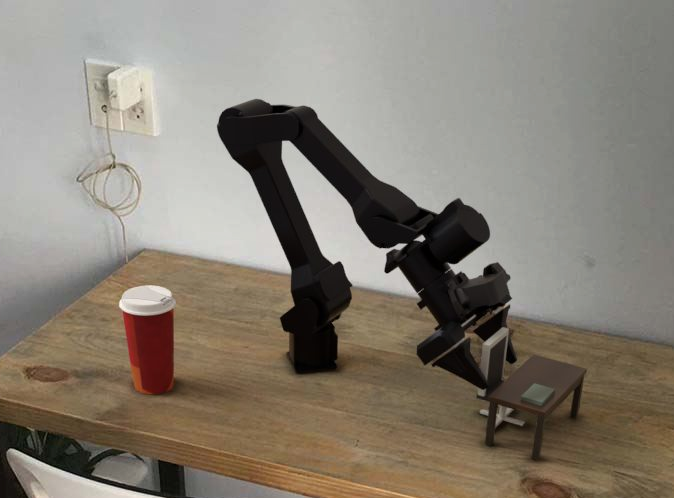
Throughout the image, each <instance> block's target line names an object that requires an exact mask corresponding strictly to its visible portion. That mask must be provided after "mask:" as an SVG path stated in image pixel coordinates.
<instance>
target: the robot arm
mask: <svg viewBox="0 0 674 498" xmlns="http://www.w3.org/2000/svg"><path fill="white" fill-rule="evenodd" d="M216 131H217V134H218V137H219V139H220V141H221V142H222V144H223V146H224V147H225V149H226V150H227V152H228V154H229V156H230V158H231V159H232V160H233V161H234V162H235V163H237V164H238V165H239V166H240V167H241V168H242V169H244V170H245V171H246V172H247V173H248V174H249V176H250V177H251V180H252V182H253V185H254V187H255V190H256V191H257V194H258V196H259V198H260V200H261V204H262V205H263V208H264V210H265V212H266V214H267V217H268V219H269V221H270V223H271V226H272V228H273V230H274V233H275V235H276V237H277V240H278V241H279V242H278V243H279V244H280V247H281V249H282V252H283V253H284V256H285V258H286V260H287V262H288V265H289V267H290V294H291V295H290V296H291V297H292V301H293V305H294V306H292V307H291V308H289V309H288V310H287V311H286V312H285V313H284V314H282V315H281V316H279V320H280V324H281V327H282V330H283V332H286V333H288V351H286V353H285V356H286V358H287V360H288V361H289V363H290V365H291V368H292V369H293V372H294V373H296V374H302V373H303V374H304V373H313V372H314V373H315V372H321V371H323V372H324V371H331V370H332V371H333V370H337V369H338V364H337V362H336V361H337V360H338V357H339V356H338V355H339V354H338V353H339V349H338V346H339V335H338V334H337V332H336V329H335V328H336V326H335V325H334V323H335V321H338V320H340V318H341V316H342V315H343V313H344V312H345V311H347V310H348V308H349V307H350V305H351V301H352V299H353V293H352V290H351V288H353V283H352V282H351V281H350V280H349V278H348V277H347V274H346V270H345V267H344V264H343V263H342V261H340V260H338V261H336V262H335V263H332V262H331V260H329V259H328V258H327V257H325V256H324V254H323V253H322V251H321V249H320V246H319V243H318V241H317V238H316V237H315V235H314V232H313V230H312V227H311V225H310V223H309V220H308V218H307V215H306V213H305V211H304V209H303V206H302V203H301V202H300V199H299V196H298V194H297V192H296V190H295V187H294V185H293V182H292V180H291V178H290V176H289V174H288V171H287V168H286V166H285V164H284V161H283V142H289V143H291V144H292V145H293V147H294V148H296V149H297V150H298V151H299V153H300V154H301V155H302V156H303V157H304V158H305V159H306V160H307V161H308V162H309V163H310V164H311V165H312V166H313V167H314V168H315V170H317V171H318V172H319V173H320V174H321V175H322V176H323V177H324V179H326V180H327V182H328V183H329V184H330V185H331V186H332V187H333V188H334V190H336V191H337V192H338V194H340V195H341V197H342V198H343V199H345V201H346V202H347V204H348V205H349V206H350V207H351V211H352V213H353V216H354V220H355V223H356V224H357V226H358V227H359V228H360V230H361V232H362V233H363V234H364V235H365V237H366V239H367V240H368V241H369V242H370V244H372V245H373V246H374V247H376V248H378V249H380V250H381V249H386V250H387V249H391V248H392V249H391V250H389V251H388V252H386V254H385V257H386V258H385V259H386V260H385V264H384V269H383V270H384V273H385V274H386V275H387V274H390V273H391V272H393V271H394V270H396V269H399V270H400V271H401V273H402V275H403V276H404V277H405V279H406V280H407V281H408V284H410V286H411V287H412V289H413V290H414V292H415V293H416V294H417V296H418V297H419V299H420V300H419V301H418V302H417V303H416V305H417V306H418V308H419V310H422V309H424V308H426V309H427V310H428V311H429V313H430V314H431V316H432V317H433V318H434V320H435V321H436V322H437V324H438V325H436V326H435V327H434V328H433V329H434V331H435V332H433V333H432V334H430V335H429V336H428V337H426V338H425V339H424V340H422V341H421V342H419V343H418V344H417V345H416V353H415V354H416V356H417V358H418V359H419V360H420V362H421V363H422V364H423V366H427V365H429V364H430V363H431V362H432V363H431V364H430V365H431V367H432V368H435V367H438V368H440V369H441V370H444V371H446V372H449V374H452V375H454V376H456V377H458V378H460V379H462V380H464V381H466V382H467V383H468V384H471V385H472V386H475V387H476V388H477V389H478V388H480V389H482V390H485V389H486V388H488V387H489V384H488V382H487V380H486V378H485V376H484V374H483V373H482V371H481V369H480V366H479V364H478V362H477V360H476V359H475V358H474V357H475V356H473V354H472V352H471V340H472V339H471V336H469V337H468V338H466V334H465V333H466V332H465V331H467V330H468V329H470V328H472V326H473V327H474V326H476V325H477V327H475V328H473V330H472V332H473V333H474V334H475V335H476V336H478V337H479V338H480V339H481V340H482V341H483V343H484V342H486V341H487V340H488V339H489V338H490V337H491V336H493V335H494V334H495V333H496V332H497V331H499V330H500V329H501V328H502V327H504V328H508V324H507V318H508V314H509V311H510V309H511V304H508V303H509V302H510V301H511V300H513V297H512V296H511V295H510V294H511V293H510V288H509V286H508V282H509V281H510V280H511V278H512V277H511V275H510V274H509V273H507V271H506V269H505V268H503V266H502V265H501V264H500V262H498V261H496V262H493V263H488V265H486V266H484V267H483V270H482V274H480V275H478V276H476V277H473V278H469V277H468V276H467V274H466V273H465V272H462V271H459V272H457V273H455V271H454V270H453V268H452V267H451V266H450V265H458V264H459V263H460V262H462V261H463V260H464V259H466V258H467V257H468V256H469V255H471V254H472V253H474V252H475V251H476V250H478V249H479V248H480V247H482V246H483V245H485V244H486V243H487V242H488V241H489V239H490V237H491V229H490V226H489V224H488V221H487V219H486V218H485V216H484V215H483V214H482V213H481V212H479V211H478V210H477V209H475V207H472V206H471V205H468V204H465V203H464V202H463V201H462V199H461V198H460V197H457V198H455V199H453V200H452V201H450V202H449V203H448V204H447V205H446V206H445V207H444V208H443V210H442V211H440V213H437V212H435V211H432V210H429V209H427V208H424V207H422V206H419V205H418V204H417V203H416V202H415V201H414V200H413V199H412V198H411V197H409V196H408V195H406V193H404V192H403V191H402V190H400V189H399V188H397V187H396V186H394V185H392V184H389V183H387V182H386V181H385V182H384V181H382V180H380V179H378V178H377V177H376V176H375V175H374V174H372V173H371V172H370V170H369V169H368V168H367V167H366V166H365V165H364V164H363V163H362V162H361V161H360V160H359V159H358V158H357V157H356V155H354V154H353V153H352V151H351V150H350V149H349V148H347V147H346V146H345V144H343V143H342V141H341V140H340V139H339V138H338V137H337V136H336V135H335V134H334V133H333V132H332V131H331V130H330V129H329V127H328V126H327V125H325V124H324V122H322V120H320V118H319V117H318V114H317V112H316V110H315V109H314V108H312V107H311V106H308V105H299V106H297V105H296V106H295V105H289V104H271V103H270V102H267V101H265V100H263V99H262V98H261V99H260V98H253V99H250V100H247V101H243V102H242V103H238V104H236V105H233V106H230V107H227V108H225V109H224V110H222V111H221V113H220V115H219V117H218V122H217V124H216ZM420 237H423V238H424V239H423V240H422V241H420V240H417V239H418V238H420ZM397 245H404V246H403V247H402V248H400V249H396V248H395V247H396V246H397ZM505 304H508V305H507V306H506V305H505ZM504 305H505V306H504ZM502 306H504V308H502ZM465 338H466V339H465ZM463 339H464V340H463ZM435 359H436V360H435ZM517 361H518V357H517V355H516V352H515V348H514V345H513V342H512V339H511V334H510V333H509V334H508V343H507V351H506V360H505V362H507V363H509V365H514V363H516V362H517Z"/></svg>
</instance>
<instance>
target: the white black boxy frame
mask: <svg viewBox="0 0 674 498" xmlns="http://www.w3.org/2000/svg"><path fill="white" fill-rule="evenodd" d="M509 331H510V329H509V328H508V327H507V328H504V327H502V328H501V329H500V330H499V331H497V332H496V333H495V334H494V335H493V336H491V337H490V338H489V339H488V340H487V341H486V342H484V341H483V343H482V349H481V355H480V366H479V368H480V369H481V371H482V373H483V374H484V376H485V378H486V380H487V382H488V384H489V387H488V388H486V389H485V390H482V389H480V388H478V387H477V393H476V396H475V397H476V399H478V400H481V401H484V402H488V403H490V401H488V398H489V395H490V394H491V393H492V392H493V391H495V390H496V389H497V388H498V387H499V386H500V385H501V384H502V383H503V382H504V381H505V380H504V376H505V369H506V351H507V343H508V334H509V335H510V333H509ZM498 406H499V412H498V413H497V416H496V424H495V429H496V428H497V427H498V426H500V424H501V423H502V422H503V421H504V422H507V423H510V424H514V425H517V426H520V427H521V428H526V426H527V424H526V422H525V421H523V420H519V419H517V418H513V417H510V416H509V415H510V414H511V413H513V412H514V410H515V411H517V410H518V409H515V408H512V407H509V406H505V405H502V404H498ZM488 412H489V410H487V409H483V408H481V409H479V410H478V411H477V413H478V415H484V416H487V417H488Z"/></svg>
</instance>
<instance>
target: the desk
mask: <svg viewBox="0 0 674 498" xmlns="http://www.w3.org/2000/svg"><path fill="white" fill-rule="evenodd" d="M587 372H588V368H586V367H582V366H579V365H575V364H571V363H567V362H564V361H561V360H557V359H553V358H550V357H546V356H542V355H539V354H535V353H533V354H532V355H531V356H530V357H529V358H528V359H527V360H525V361H524V362H523V363H522V364H521V365H520V366H519V367H518V368H517V369H516V370H515V371H514V372H513V373H512V374H510V375H509V376H508V378H506V379H505V380H504V382H503V383H502V384H501V385H500V386H499V387H498V388H497V389H496V390H495V391H493V392H492V393H491V394H490V395H489V398H488V401H490V402H488V401H487V402H488V403H489V405H488V411H489V412H488V416H487V423H486V431H485V438H484V439H485V441H484V445H485V446H488V447H492V446H493V445H494V441H495V434H496V433H495V432H496V428H495V424H496V419H497V418H496V416H497V414H498V406H499V405H498V404H502V405H505V406H509V407H512V408H515V409H517V410H518V411H522V412H524V413H525V412H526V413H529V414H532V415H536V423H535V429H534V437H533V444H532V450H531V460H532V461H535V462H538V461H539V460H540V458H541V452H542V444H543V438H544V431H545V426H546V425H545V424H546V420H547V419H549V417H550V416H551V415H552V414H553V413H554V412H555V411H556V410H557V409H558V408H559V407H560V406H561V404H562V403H564V401H565V400H566V399H567V398H568V397H569V396H570V395H571V394H572V393H573V395H572V401H571V408H570V413H569V417H570V418H572V419H577V418H578V417H579V412H580V407H581V401H582V395H583V386H584V381H585V376H586V374H587Z"/></svg>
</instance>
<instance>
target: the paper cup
mask: <svg viewBox="0 0 674 498" xmlns="http://www.w3.org/2000/svg"><path fill="white" fill-rule="evenodd" d="M176 304H177V302H176V298H174V297H173V293H172V292H171V290H170V289H168V288H166V287H164V286H159V285H151V284H150V285H140V286H134V287H132V288H129V289H127V290H125V291H124V292H123V294H122V295H121V299H120V300H119V303H118V306H119V309H120V310H121V311H122V317H123V324H124V331H125V337H126V344H127V350H128V351H127V352H128V356H129V363H130V369H131V376H132V380H133V385H134V389H135V391H137V392H138V393H140V394H144V395H161V394H165V393H167V392H169V391H170V390H172V389H173V387H174V382H175V381H174V380H175V379H174V378H175V335H174V334H175V330H174V329H175V323H174V322H175V321H174V319H175V316H174V315H175V314H174V313H175V310H174V308H175V307H176Z"/></svg>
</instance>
